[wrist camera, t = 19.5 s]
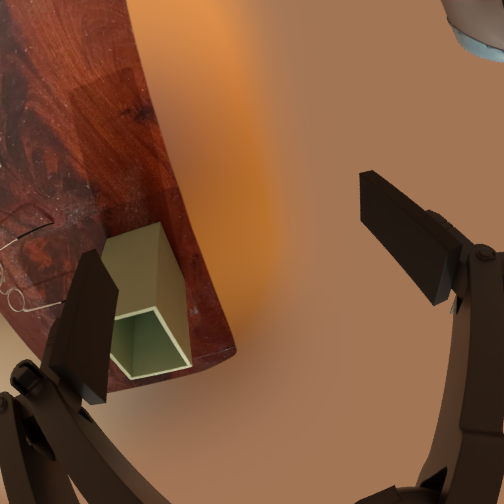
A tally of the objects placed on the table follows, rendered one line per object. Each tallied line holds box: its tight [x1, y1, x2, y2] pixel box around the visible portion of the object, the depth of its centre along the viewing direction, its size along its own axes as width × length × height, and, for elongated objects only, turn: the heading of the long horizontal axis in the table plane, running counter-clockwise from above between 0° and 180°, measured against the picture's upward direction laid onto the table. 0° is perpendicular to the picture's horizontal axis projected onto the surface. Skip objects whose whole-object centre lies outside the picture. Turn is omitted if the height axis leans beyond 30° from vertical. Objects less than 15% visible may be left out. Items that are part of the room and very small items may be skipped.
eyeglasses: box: [0, 223, 66, 312], centre depth 48 cm, size 16×19×5 cm
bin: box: [101, 222, 192, 380], centre depth 47 cm, size 13×10×20 cm
